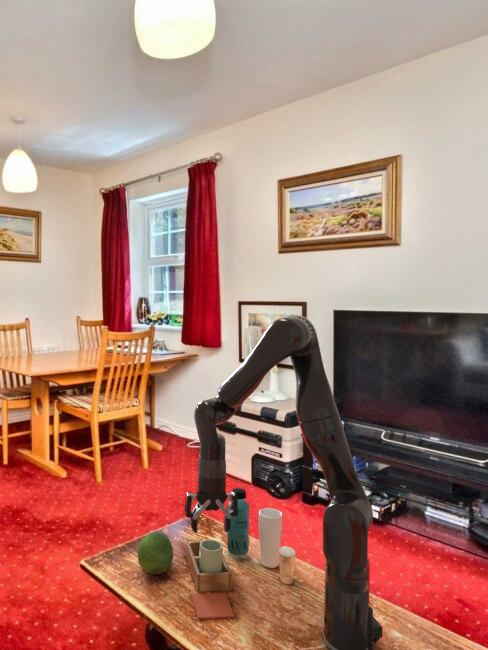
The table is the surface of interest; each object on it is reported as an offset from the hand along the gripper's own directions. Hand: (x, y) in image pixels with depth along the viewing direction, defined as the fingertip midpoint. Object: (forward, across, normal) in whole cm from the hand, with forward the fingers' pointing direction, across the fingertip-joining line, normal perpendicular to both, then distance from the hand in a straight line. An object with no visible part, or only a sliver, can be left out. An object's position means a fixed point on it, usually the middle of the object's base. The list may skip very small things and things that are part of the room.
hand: (210, 531), depth 133 cm
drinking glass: (+14, +19, +7) cm, 25 cm away
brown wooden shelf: (+14, 0, +4) cm, 14 cm away
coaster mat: (+14, -2, -11) cm, 18 cm away
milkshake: (+14, +21, -2) cm, 25 cm away
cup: (+14, 0, 0) cm, 14 cm away
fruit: (+14, -14, +8) cm, 21 cm away
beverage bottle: (+14, +11, +12) cm, 22 cm away
